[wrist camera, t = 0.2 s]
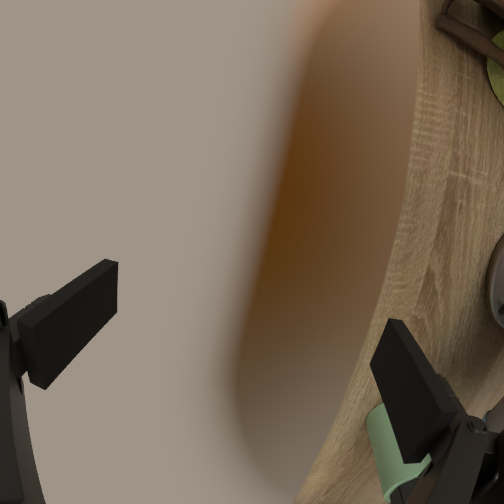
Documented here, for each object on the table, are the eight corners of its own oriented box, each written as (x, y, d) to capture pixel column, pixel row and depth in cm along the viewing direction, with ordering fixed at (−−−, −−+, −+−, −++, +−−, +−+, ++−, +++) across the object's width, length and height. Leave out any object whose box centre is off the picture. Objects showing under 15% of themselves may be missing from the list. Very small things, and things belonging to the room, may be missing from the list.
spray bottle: (377, 397, 36) (410, 503, 20) (421, 399, 36) (462, 493, 20) (358, 431, 39) (378, 531, 22) (399, 433, 38) (428, 524, 22)
